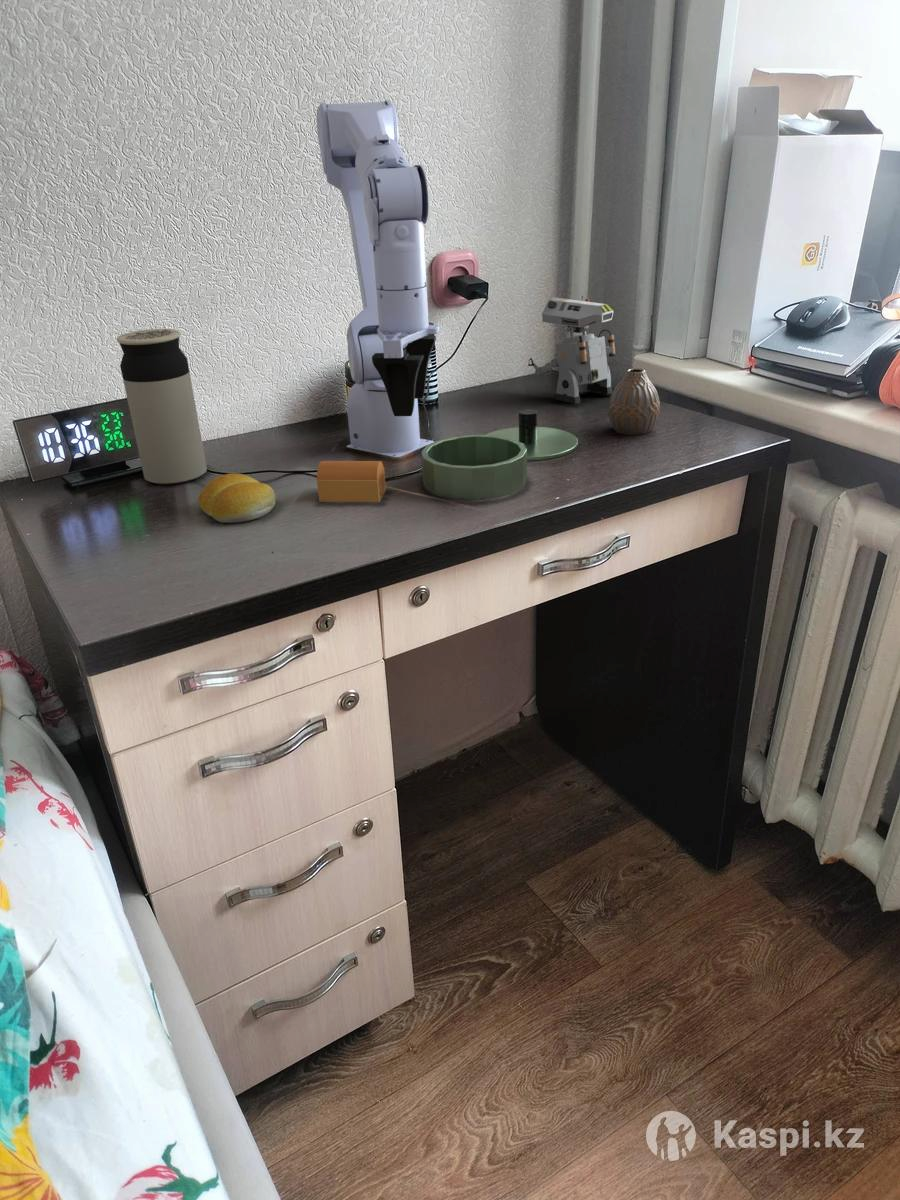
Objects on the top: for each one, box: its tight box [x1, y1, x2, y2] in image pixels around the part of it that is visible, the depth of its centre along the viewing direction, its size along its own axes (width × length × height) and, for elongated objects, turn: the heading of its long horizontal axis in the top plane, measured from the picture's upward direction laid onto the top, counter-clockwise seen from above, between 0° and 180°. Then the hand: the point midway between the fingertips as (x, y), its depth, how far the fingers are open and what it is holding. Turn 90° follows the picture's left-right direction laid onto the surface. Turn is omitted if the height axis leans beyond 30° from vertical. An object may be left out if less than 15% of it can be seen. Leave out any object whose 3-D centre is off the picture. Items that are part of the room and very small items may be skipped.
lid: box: [485, 408, 579, 462], centre depth 116 cm, size 13×13×5 cm
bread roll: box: [197, 472, 276, 524], centre depth 101 cm, size 8×9×4 cm
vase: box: [608, 367, 661, 436], centre depth 119 cm, size 7×7×9 cm
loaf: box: [316, 460, 387, 503], centre depth 103 cm, size 7×4×4 cm, turn 83°
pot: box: [420, 434, 528, 501], centre depth 105 cm, size 12×12×4 cm
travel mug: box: [116, 328, 208, 485], centre depth 110 cm, size 8×8×18 cm
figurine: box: [527, 297, 617, 405], centre depth 136 cm, size 9×12×15 cm
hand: (409, 406), depth 104 cm, fingers open, 7 cm apart
